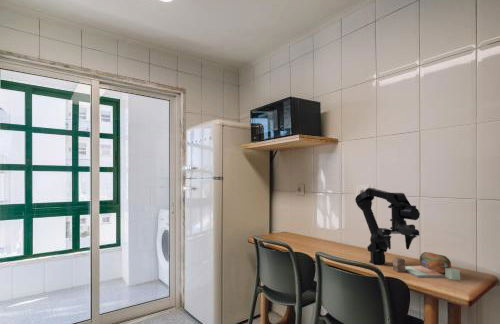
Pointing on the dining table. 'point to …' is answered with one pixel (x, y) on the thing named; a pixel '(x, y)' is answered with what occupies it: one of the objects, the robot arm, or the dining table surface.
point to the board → (422, 272)
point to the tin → (435, 262)
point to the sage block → (452, 273)
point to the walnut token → (398, 264)
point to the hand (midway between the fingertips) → (398, 249)
